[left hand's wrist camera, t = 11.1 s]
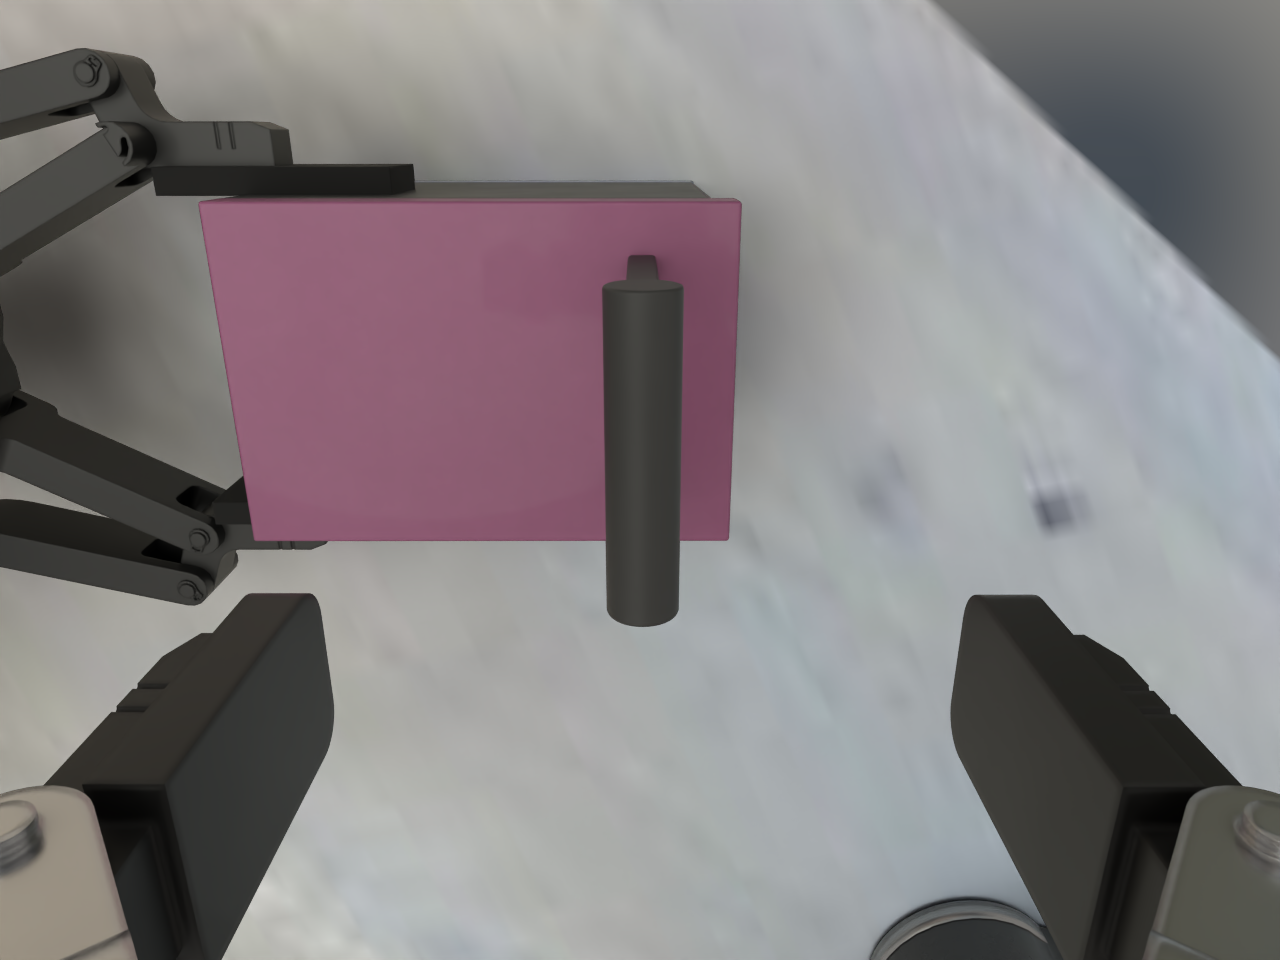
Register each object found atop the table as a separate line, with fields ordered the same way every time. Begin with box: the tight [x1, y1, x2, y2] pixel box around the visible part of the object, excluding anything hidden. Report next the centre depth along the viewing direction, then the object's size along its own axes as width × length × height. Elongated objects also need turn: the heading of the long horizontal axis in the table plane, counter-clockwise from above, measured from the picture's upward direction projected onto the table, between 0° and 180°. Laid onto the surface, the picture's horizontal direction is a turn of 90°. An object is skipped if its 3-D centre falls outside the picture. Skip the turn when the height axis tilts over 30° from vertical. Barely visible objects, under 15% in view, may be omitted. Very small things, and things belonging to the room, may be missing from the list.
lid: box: [199, 198, 742, 627], centre depth 21 cm, size 13×9×8 cm
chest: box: [228, 181, 710, 198], centre depth 30 cm, size 13×9×10 cm
